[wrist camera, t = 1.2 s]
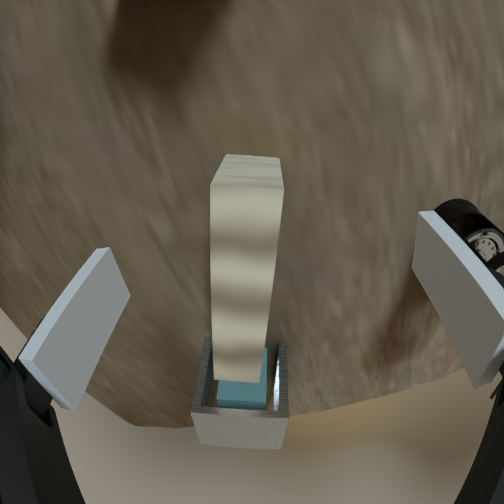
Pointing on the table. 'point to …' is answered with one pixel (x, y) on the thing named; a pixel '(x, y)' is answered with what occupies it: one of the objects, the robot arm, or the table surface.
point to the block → (244, 392)
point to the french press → (476, 232)
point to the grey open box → (239, 410)
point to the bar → (243, 261)
